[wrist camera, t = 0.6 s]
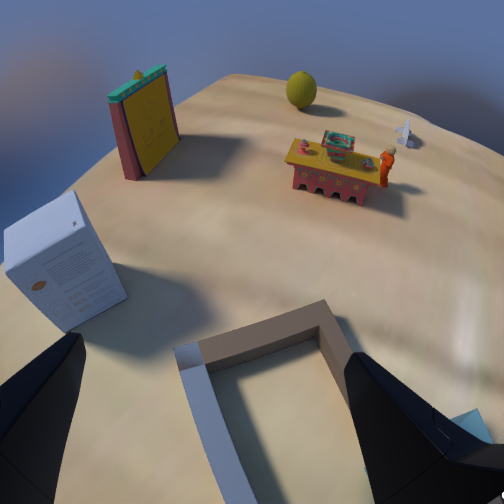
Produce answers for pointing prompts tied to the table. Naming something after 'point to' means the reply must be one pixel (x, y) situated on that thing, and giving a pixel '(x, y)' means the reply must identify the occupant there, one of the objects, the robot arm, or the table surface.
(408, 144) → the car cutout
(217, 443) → the u-shaped bar frame
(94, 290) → the small box
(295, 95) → the lemon
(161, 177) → the table surface
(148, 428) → the table surface
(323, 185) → the toy shop counter set
